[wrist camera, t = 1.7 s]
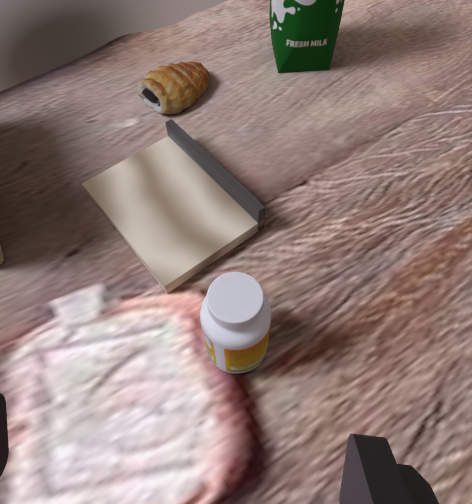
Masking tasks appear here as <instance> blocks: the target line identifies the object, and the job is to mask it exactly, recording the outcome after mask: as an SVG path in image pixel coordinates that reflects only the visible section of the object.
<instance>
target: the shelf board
mask: <svg viewBox="0 0 472 504" xmlns="http://www.w3.org/2000/svg"><path fill="white" fill-rule="evenodd" d="M166 127H167V132H168V136H167V137H166V138H164V139H162V140H160V141H158V142H156V143H155V144H153V145H151V146H149V147H147V148H145V149H144V150H142V151H140V152H138V153H136V154H134V155H133V156H131V157H129V158H127V159H125V160H123V161H122V162H120V163H118V164H116V165H114V166H112V167H111V168H109V169H107V170H105V171H103V172H101V173H100V174H98V175H96V176H94V177H92V178H90V179H89V180H87V181H85V182H83V183H82V185H83V187H84V190H85V192H86V193H87V194H88V196H89V197H90V198H91V199H92V201H93V202H94V203H95V204H96V206H97V207H98V208H99V209H100V211H101V212H102V213H103V214H104V216H105V217H106V218H107V219H108V221H109V222H110V223H111V224H112V226H113V227H114V228H115V229H116V231H117V232H118V233H119V234H120V236H121V237H122V238H123V239H124V241H125V242H126V243H127V244H128V245H129V247H130V248H131V249H132V250H133V252H134V253H135V254H136V255H137V257H138V258H139V259H140V260H141V262H142V263H143V264H144V265H145V267H146V268H147V269H148V270H149V272H150V273H151V274H152V275H153V277H154V278H155V279H156V280H157V282H158V283H159V284H160V285H161V287H162V288H163V289H164V290H165V292H166V293H167V294H168V293H169V292H171V291H172V290H174V289H175V288H177V287H178V286H180V285H181V284H182V283H184V282H185V281H187V280H188V279H190V278H191V277H193V276H194V275H196V274H197V273H198V272H200V271H201V270H203V269H204V268H206V267H207V266H209V265H210V264H212V263H213V262H214V261H216V260H217V259H219V258H220V257H222V256H223V255H225V254H226V253H228V252H229V251H230V250H232V249H233V248H235V247H236V246H238V245H239V244H241V243H242V242H244V241H245V240H246V239H248V238H249V237H251V236H252V235H254V234H255V233H257V232H258V231H260V230H261V229H262V228H264V216H265V206H264V205H263V204H262V203H260V202H259V201H258V200H257V198H256V197H254V196H253V195H252V194H251V193H250V192H249V191H248V190H247V189H246V188H245V187H244V186H243V185H242V184H241V183H239V182H238V181H237V180H236V179H235V178H234V177H233V176H232V175H231V174H230V173H229V172H228V171H227V170H226V169H224V168H223V167H222V166H221V165H220V164H219V163H218V162H217V161H216V160H215V159H214V158H213V157H212V156H211V155H210V154H208V153H207V152H206V151H205V150H204V149H203V148H202V147H201V146H200V145H199V144H198V143H197V142H196V141H195V140H193V139H192V138H191V137H190V136H189V135H188V134H187V133H186V132H185V131H184V130H183V129H181V128H180V127H179V126H178V125H177V124H176V123H175V122H174V121H173V120H172V119H171V120H169V121H167V122H166Z"/></svg>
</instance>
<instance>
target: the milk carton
mask: <svg viewBox="0 0 472 504" xmlns="http://www.w3.org/2000/svg"><path fill="white" fill-rule="evenodd" d="M343 5H344V0H270V28H271V38H272V45H273V50H274V55H275V60H276V64H277V69H278V73H280V72H296V71H312V70H329V68H330V63H331V59H332V55H333V51H334V47H335V43H336V39H337V35H338V30H339V25H340V21H341V16H342V10H343Z"/></svg>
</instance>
